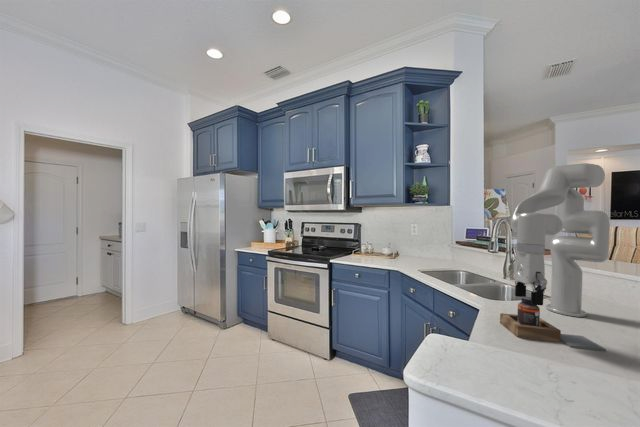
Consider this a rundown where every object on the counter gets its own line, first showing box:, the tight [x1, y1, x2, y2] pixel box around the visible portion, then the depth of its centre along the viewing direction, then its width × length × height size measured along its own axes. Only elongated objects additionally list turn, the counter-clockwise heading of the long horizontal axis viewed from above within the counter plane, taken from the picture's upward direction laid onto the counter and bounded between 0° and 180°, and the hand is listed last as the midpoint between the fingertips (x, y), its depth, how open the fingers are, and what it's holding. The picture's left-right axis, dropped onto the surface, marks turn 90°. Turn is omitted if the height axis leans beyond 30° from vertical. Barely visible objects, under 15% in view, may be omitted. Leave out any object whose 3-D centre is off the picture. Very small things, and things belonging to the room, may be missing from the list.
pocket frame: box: [499, 312, 562, 343], centre depth 92 cm, size 12×12×4 cm
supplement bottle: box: [516, 296, 541, 326], centre depth 92 cm, size 6×6×11 cm
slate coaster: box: [560, 333, 607, 352], centre depth 85 cm, size 9×9×1 cm
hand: (528, 300), depth 92 cm, fingers open, 9 cm apart
